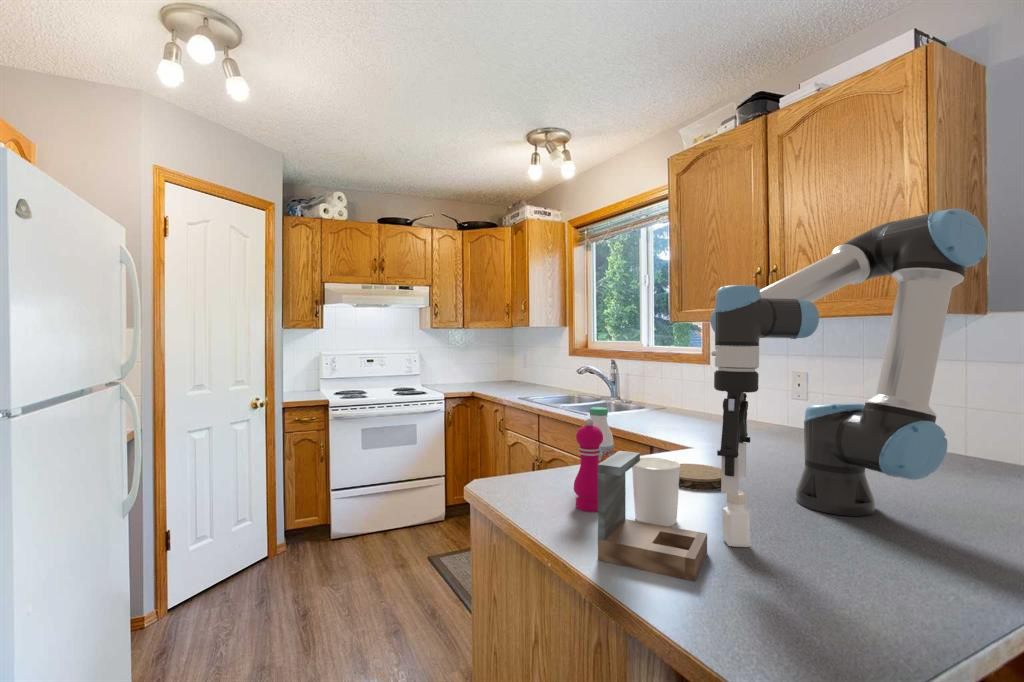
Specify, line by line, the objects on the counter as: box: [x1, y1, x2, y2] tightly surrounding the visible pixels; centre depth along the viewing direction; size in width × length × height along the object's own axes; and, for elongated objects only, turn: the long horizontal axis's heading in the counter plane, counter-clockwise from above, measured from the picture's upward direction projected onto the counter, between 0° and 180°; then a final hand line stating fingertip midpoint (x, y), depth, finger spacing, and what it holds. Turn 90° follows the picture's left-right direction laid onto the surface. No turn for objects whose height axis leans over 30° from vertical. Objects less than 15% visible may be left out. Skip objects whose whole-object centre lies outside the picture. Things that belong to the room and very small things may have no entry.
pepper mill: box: [573, 418, 603, 513], centre depth 115 cm, size 7×7×20 cm
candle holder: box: [631, 457, 681, 527], centre depth 107 cm, size 10×10×12 cm
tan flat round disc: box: [679, 463, 722, 491], centre depth 136 cm, size 16×16×3 cm
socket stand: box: [597, 450, 708, 582], centre depth 90 cm, size 16×12×16 cm
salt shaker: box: [722, 490, 751, 548], centre depth 95 cm, size 4×4×10 cm
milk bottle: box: [589, 406, 615, 463], centre depth 132 cm, size 8×8×20 cm
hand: (734, 484), depth 95 cm, fingers open, 13 cm apart
